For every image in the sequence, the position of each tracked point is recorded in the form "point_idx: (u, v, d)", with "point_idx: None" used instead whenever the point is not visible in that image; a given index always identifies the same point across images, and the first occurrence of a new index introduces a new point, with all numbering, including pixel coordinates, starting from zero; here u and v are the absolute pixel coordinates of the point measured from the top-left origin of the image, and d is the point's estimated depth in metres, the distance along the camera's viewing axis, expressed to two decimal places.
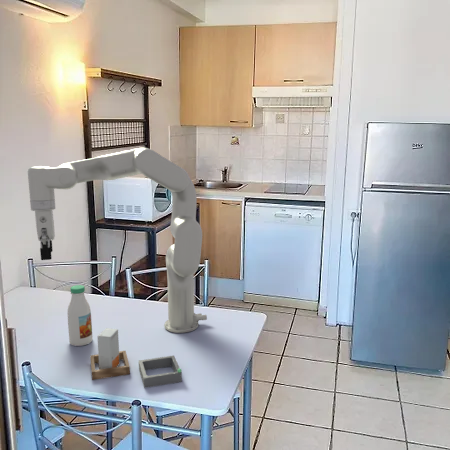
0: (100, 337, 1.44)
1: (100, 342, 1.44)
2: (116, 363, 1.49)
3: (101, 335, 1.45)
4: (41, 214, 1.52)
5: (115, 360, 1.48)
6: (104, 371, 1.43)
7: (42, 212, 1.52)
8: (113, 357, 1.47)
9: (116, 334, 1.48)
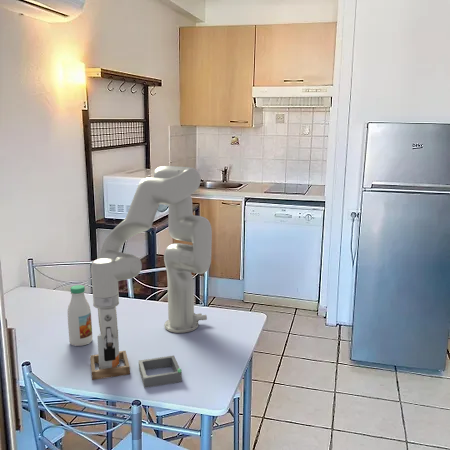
0: (100, 337, 1.44)
1: (100, 342, 1.44)
2: (116, 363, 1.49)
3: None
4: (106, 312, 1.40)
5: (115, 360, 1.48)
6: (104, 371, 1.43)
7: (107, 310, 1.41)
8: None
9: None
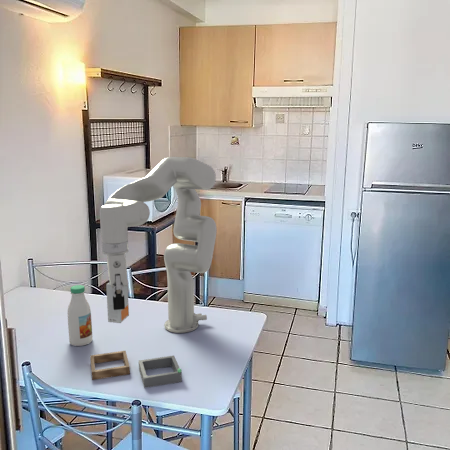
0: (109, 285, 1.40)
1: (109, 290, 1.40)
2: (125, 314, 1.44)
3: None
4: (115, 258, 1.36)
5: (125, 310, 1.44)
6: (104, 371, 1.43)
7: (116, 256, 1.36)
8: None
9: None
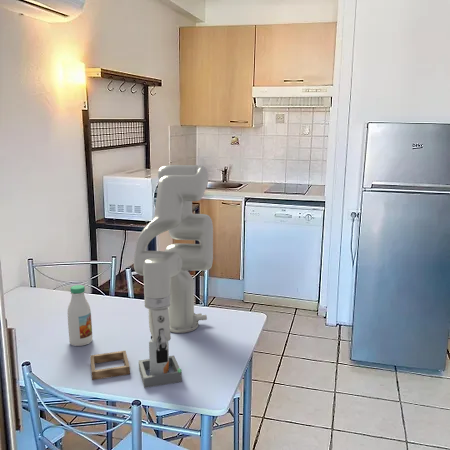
0: (152, 343, 1.40)
1: (151, 348, 1.40)
2: (166, 370, 1.45)
3: (152, 341, 1.41)
4: (159, 313, 1.36)
5: (166, 367, 1.44)
6: (104, 371, 1.43)
7: (160, 311, 1.36)
8: (164, 364, 1.43)
9: (167, 340, 1.44)
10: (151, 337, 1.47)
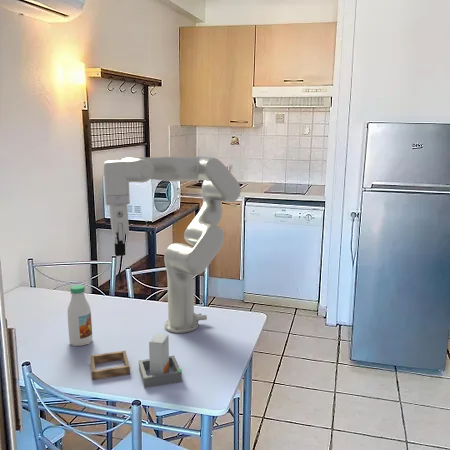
0: (152, 343, 1.40)
1: (152, 348, 1.40)
2: (166, 370, 1.45)
3: (153, 341, 1.41)
4: (118, 209, 1.49)
5: (166, 367, 1.44)
6: (104, 371, 1.43)
7: (119, 207, 1.50)
8: (165, 364, 1.43)
9: (167, 340, 1.44)
10: (115, 244, 1.56)
